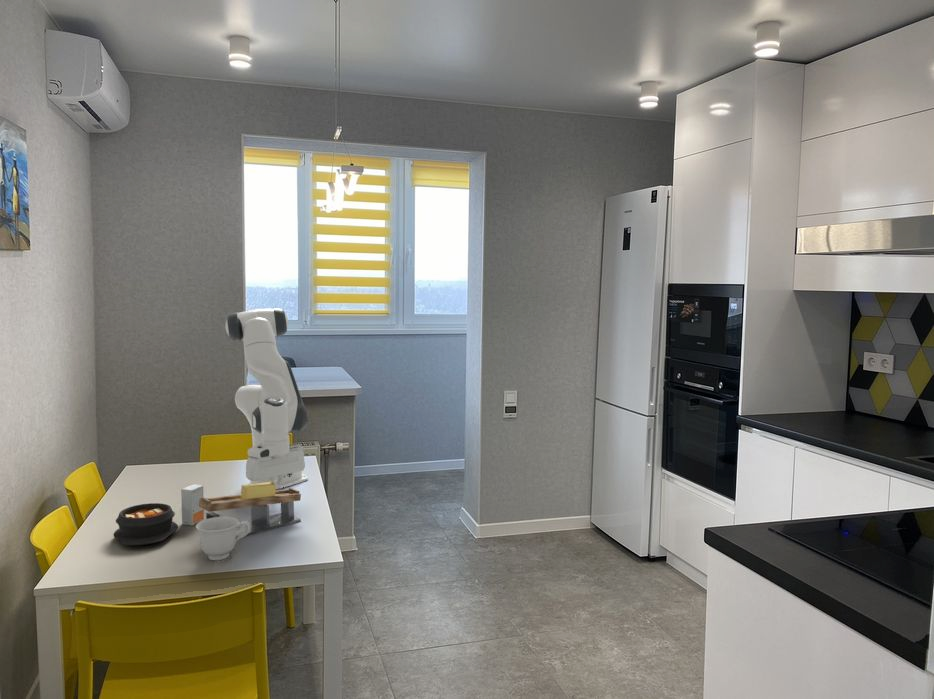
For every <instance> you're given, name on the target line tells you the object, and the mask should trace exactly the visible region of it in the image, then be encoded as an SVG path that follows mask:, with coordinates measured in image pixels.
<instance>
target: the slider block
mask: <svg viewBox="0 0 934 699" xmlns="http://www.w3.org/2000/svg"><path fill="white" fill-rule="evenodd" d="M275 491H277V489H276V485H275V484H272V483H270V482H266V483H256V484H250V483H247V484H241V489H240V495H241V499H242V500H244V499H253V498H261V497H270V496H275Z"/></svg>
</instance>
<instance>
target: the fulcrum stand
mask: <svg viewBox="0 0 934 699" xmlns="http://www.w3.org/2000/svg"><path fill="white" fill-rule="evenodd" d="M250 511H251V512H250V514H251V517H250V518H251V520H249V521H247V522H248V523H249V525H250V531H249V533H248V534H247V535H246V536H244V537H243V538H245V537H248V536H249V537H250V536H253V535H256V534H259V533H262V532H267V531H271V530H273V529H274V530H275V529H278V528H282V527H286V526H289V525H293V524H296V523H299V522H302V519H301V518H299V517H298V516H295V501H293V502H285V503H280V512H279V513H275V514H272V515H270V504H269V505H261V506H252V507H250ZM205 514H206V519H209V518H214V517H221V514H218V513H217V512H216V511H212V512H208V511H206V512H205ZM239 525H240V523H239V524H238V525H237V526H239ZM246 530H247V526H246V525H242V526H241V529H240V530H239V529H237V530H236V538H237V537H238V536H239V535H241V534H243V533H245V532H246Z"/></svg>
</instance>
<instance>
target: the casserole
mask: <svg viewBox="0 0 934 699" xmlns="http://www.w3.org/2000/svg"><path fill="white" fill-rule="evenodd" d="M175 514H176V512H175V511H174V510H173V509H172V507H171V505H169V504H166V503H160V502H159V503H157V502H156V503H153V502H152V503H151V502H150V503H141V504H136V505H133V506H129V507H127V508H124V509H122V510H120V512H119V514H118V516H117V518H116V519H115V523H116V524H117V525H118V528H117V529H116V530H114V533H113V537H114V538H115V539H117V540H119V541H120V542H121V543H122V544H123V545H126V546H144V545H150V544H154V543H155V544H156V543H160V542H163V541H164V540H166V539H167V538H168V537H169V536H170V535H171V534H174V533H175V532H176V531H177V530H179V525H178V524H177V523H176V522H175V521H173V518H174V517H175Z"/></svg>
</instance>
